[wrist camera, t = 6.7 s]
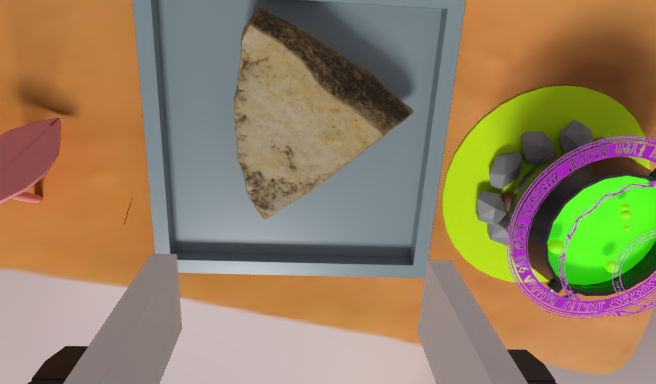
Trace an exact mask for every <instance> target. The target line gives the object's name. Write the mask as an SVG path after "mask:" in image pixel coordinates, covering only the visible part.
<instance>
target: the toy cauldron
mask: <svg viewBox="0 0 656 384" xmlns="http://www.w3.org/2000/svg"><path fill="white" fill-rule="evenodd" d="M652 137H654V136H652ZM647 139H649V141H647ZM650 140H652V141H651V142H650ZM653 141H655V142H653ZM647 143H651V144H655V145H656V140H654V139H650V138H645V135H644V133H643V132H642V130H641V128H640V126H639V124H638V122H637V121H636V119H635V118H634V117H633V116H632V115H631V114H630V113H629V111H628V110H627V109H626V108H625V107H624V106H623V105H621V104H620V103H618V102H617V101H615V100H614V99H612V98H610V97H609V96H607V95H606V94H603V93H600V92H597V91H594V90H591V89H588V88H585V87H575V86H566V85H564V86H554V87H544V88H540V89H536V90H533V91H530V92H526V93H523V94H520V95H518V96H516V97H514V98H512V99H510V100H508V101H506V102H505V103H503V104H501V105H499V106H498V107H497V108H495V109H494V110H493V111H491V112H490V113H489V114H487V115H486V116H485V117H483V118H482V119H481V120H480V121H479V122H478V123H477V124H476V125H475V126H474V128H473V129H472V130H471V131H470V132H469V133H468V134H467V135H466V136H465V138H464V140H463V141H462V143H461V144H460V146H459V147H458V149H457V150H456V152H455V153H454V156H453V158H452V160H451V163H450V165H449V168H448V170H447V172H446V177H445V181H444V186H443V191H442V213H443V217H444V222H445V226H446V230H447V232H448V234H449V236H450V238H451V241H452V243H453V245H454V246H455V247H456V249H457V250H458V251H459V252H460V254H461V255H462V256H463V257H464V259H466V260H467V261H468V262H469V263H471V264H472V265H473V266H474V267H476V268H477V269H478V270H480V271H482V272H484V273H486V274H488V275H490V276H492V277H495V278H498V279H502V280H506V281H510V282H516V283H517V282H518V283H520V285H522V283H524V284H525V286H526V287H527V288H528V289H529V290H530V291H531V289H532V288H533V287H534V286H535V287H536V288H535V287H534V288H535V289H537V288H538V287H537V286H539V288H540V287H541V288H540V289H539V288H538V289H539V290H541V289H543V290H544V292H542V291H543V290H542V291H541V292H542V293H543V294H544V293H545V292H546V295H545V294H544V295H543V294H542V293H541V294H540V293H539V290H538V289H537V291H536V290H535V289H534V288H533V289H534V290H535V291H536V292H532V291H531V292H532V293H533V294H534V295H535V296H536V297H538V298H539V299H541V298H544V297H545V298H544V299H541V300H542V301H544V302H546V303H548V304H549V305H552V304H554V305H552V306H555V307H558V308H561V309H565V307H566V305H567V303H568V302H567V301H570V302H571V305H570V302H569V303H568V305H567V307H566V309H565V310H570V309H571V307H569V306H572V305H573V306H574V304H575V306H574V307H575V308H572V309H573V310H572V309H571V311H577V308H578V306H579V308H578V310H579V309H580V310H579V311H583V312H586V310H587V311H588V312H591V311H597V312H595V313H594V312H592V313H574V312H566V311H562V310H559V309H556V308H553V307H550V306H548V305H546V304H544V303H542V302H541V301H539V300H538V299H536V298H535V297H534V296H532V295H531V294H530V293H529V292H528V291H527V290H526V288H525V287H524V286H523V285H522V286H521V287H523V289H525V291H526V292H527V293H528V295H530V297H533V298H532V299H531V298H530V297H529V296H528V295H527V294H526V293H525V292H524V291H523V290H522V289H521V287H520V286H519V284H518V283H517V285H518V286H519V287H520V289H521V290H522V291H523V292H524V293H525V295H527V296H528V297H529V298H530V299H531V300H532V301H534V300H536V302H535V301H534V302H535V303H537V302H539V303H541V305H540V304H538V303H537V304H538V305H540V306H542V304H543V305H544V306H546V307H549V308H551V310H550V309H549V308H546V307H544V306H542V307H544V308H546V309H548V310H550V311H553V312H556V313H559V312H562V313H560V314H565V313H567V314H565V315H569V314H568V313H570V315H571V314H573V315H571V316H582V314H583V316H596V315H597V314H599V315H603V313H604V314H608V313H609V314H610V315H611V314H612V315H614V314H615V315H616V313H617V315H618V316H623V315H621V314H620V312H622V313H631V314H634V313H639V311H640V312H642V311H641V310H643V309H644V308H646V307H648V306H651V305H655V306H656V303H655V304H653V303H654V302H653V301H654V300H653V301H652V300H650V299H645V298H644V299H643V297H646V296H647V295H648V294H650V295H652V294H653V293H655V292H656V291H655V292H654V290H656V288H655V289H654V290H652V291H651V292H653V293H652V294H651V292H649V293H648V294H646V295H645V296H643V297H641V298H638V297H640V296H642V295H643V294H645V293H647V292H648V291H650V290H651V289H653V288H654V287H655V286H656V280H655V279H656V278H655V276H656V273H655V274H654V275H653V276H652V277H651V278H649V279H648V280H647V281H646V282H644V283H642V284H641V285H640V286H638V287H636V288H634V289H632V290H630V291H628V292H626V291H625V290H628V289H630V288H631V287H633V286H635V285H637V284H638V283H640V282H642V281H643V280H645V279H647V278H648V277H649V276H650V275H651V274H652V273H653V272H654V271H655V270H656V168H655V169H654V170H653V171H652V172H651V170H650V161H652V162H654V163H656V158H655V157H654V155H655V153H656V151H655V153H654V155H653V154H652V153H653V150H654V148H656V147H654V146H651V145H647ZM655 150H656V149H655ZM651 154H652V155H653V156H652V158H651V157H650V155H651ZM653 157H654V158H655V159H653ZM652 278H655V279H652ZM651 279H652V280H655V281H652V280H651ZM650 280H651V282H650ZM544 281H549V282H548V283H547V285H548V286H549V289H547V288H546V287H544V286H545V285H544V284H543V283H542V284H543V285H544V286H543V285H542V284H541V283H540V282H544ZM530 283H531V284H532V283H537V284H538V285H537V284H536V285H537V286H536V285H534V284H533V285H534V286H533V285H529V284H530ZM646 283H654V287H649V284H646ZM643 285H646V286H648V288H649V289H648V288H647V287H646V286H644V287H645V288H644V287H643ZM532 286H533V287H532ZM650 286H653V284H650ZM530 287H532V288H530ZM641 287H642V289H643V291H644V292H645V293H644V292H643V291H642V289H641ZM563 288H564V290H565V292H566V293H567V295H565V296H562V297H561V296H559V295H557V293H559V292H560V291H561V290H562V289H563ZM533 289H532V290H533ZM567 289H568V290H570V291H572V292H571V293H570V292H568V291H567ZM638 289H639V291H642V293H641V292H638V293H637V291H638ZM645 289H646V290H647V291H646V290H645ZM534 290H533V291H534ZM635 290H636V291H635ZM554 291H555V292H557V293H556V294H555V292H554ZM621 291H625V292H626V293H624V294H621V295H619V294H618V293H617V292H621ZM633 291H634V293H635V295H633V294H634V293H633ZM553 292H554V293H553ZM538 293H539V294H540V295H539V294H538ZM568 293H569V294H568ZM614 293H617V294H618V296H615V297H612V298H608V299H603V300H596V301H581V300H580V299H579V298H578V297H577V295H579V294H582V295H586V296H607V295H611V294H614ZM625 294H628V296H627V295H625ZM631 294H632V295H633V296H632V295H631ZM637 294H641V295H637ZM522 295H523V294H522ZM537 295H539V296H537ZM542 295H543V296H542ZM552 295H553V296H552ZM623 295H624V296H623ZM650 295H649V296H650ZM523 296H524V295H523ZM541 296H542V297H541ZM554 296H555V297H554ZM630 296H631V298H632V299H631V298H630ZM649 296H647V297H649ZM540 297H541V298H540ZM551 297H554V298H553V299H552V298H551ZM558 297H559V298H558ZM573 297H575V298H576V299H577V300H573V299H572V298H573ZM624 297H625V298H626V297H627V299H625V300H624ZM628 297H629V298H628ZM647 297H646V298H647ZM616 298H617V299H619V298H620V300H622V303H621V301H618V300H617V299H616ZM633 298H635V299H636V298H637V300H635V299H633ZM533 299H534V300H533ZM614 299H615V303H612V302H614ZM640 299H642V300H650V301H652V302H653V303H650V304H648V305H639V306H643V307H644V308H642V307H640V308H642V309H640V310H639V311H637V312H627V311H628V310H627V311H619V310H622V309H624V308H627V307H629V306H628V305H630V306H632V305H637V304H636V303H639V302H641V301H642V300H640ZM652 299H655V298H652ZM611 300H612V301H611ZM627 300H628V301H627ZM632 300H635V301H633V302H631V303H630V301H632ZM603 301H605V304H603ZM617 301H618V302H617ZM625 301H626V303H629V304H626V305H624V306H621V307H618V308H615V309H611V310H607V311H605V309H610V308H613V307H611V306H615V307H617V306H620V305H623V304H625V303H624V302H625ZM637 301H638V302H637ZM566 302H567V303H566ZM573 302H574V304H573ZM598 302H602V309H601V303H600V309H599V303H598ZM634 302H636V303H634ZM655 302H656V301H655ZM531 303H532V302H531ZM565 303H566V304H565ZM578 303H579V304H580V305H581V306H580V305H579V304H578ZM582 303H583V304H582ZM590 303H591V304H592V305H593V304H594V303H595V304H594V305H593V306H594V307H595V308H594V307H593V306H592V305H591V304H590ZM597 303H598V304H597ZM611 303H612V304H611ZM617 303H619V304H620V303H621V304H620V305H619V304H617ZM633 303H634V304H633ZM646 303H649V302H647V301H646ZM564 304H565V305H564ZM585 304H586V307H585V306H584V305H585ZM589 304H590V305H589ZM610 304H611V306H610ZM631 304H632V305H631ZM639 304H640V303H639ZM563 305H564V307H563ZM587 305H588V306H589V308H587ZM596 305H597V308H596ZM535 306H536V305H535ZM591 306H592V307H591ZM625 306H627V307H625ZM655 306H653V307H655ZM537 307H538V306H537ZM568 307H569V308H568ZM580 307H581V308H580ZM590 307H591V308H590ZM622 307H624V308H622ZM633 307H634V306H633ZM619 308H621V309H619ZM651 308H652V307H651ZM552 309H554V310H556V311H554V310H552ZM591 309H592V310H591ZM616 309H619V310H616ZM636 309H637V308H636ZM648 309H650V308H648ZM599 310H601V311H599ZM612 310H616V311H612ZM646 310H647V309H646ZM557 311H559V312H557ZM610 311H611V312H610ZM643 311H645V310H643ZM547 312H548V311H547ZM563 312H564V313H563ZM606 312H607V313H606ZM612 312H613V313H614V314H613V313H612ZM615 312H616V313H615ZM549 313H550V312H549ZM600 313H601V314H600ZM552 314H553V313H552ZM574 314H575V315H574ZM576 314H578V315H576ZM579 314H581V315H579ZM585 314H587V315H585ZM588 314H590V315H588ZM591 314H593V315H591ZM594 314H596V315H594ZM610 315H606V316H610ZM615 315H614V316H615ZM627 315H630V314H627ZM559 316H560V315H559ZM563 317H565V316H563ZM601 317H603V316H601ZM569 318H572V317H569ZM593 318H596V317H593ZM580 319H584V318H580Z"/></svg>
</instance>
